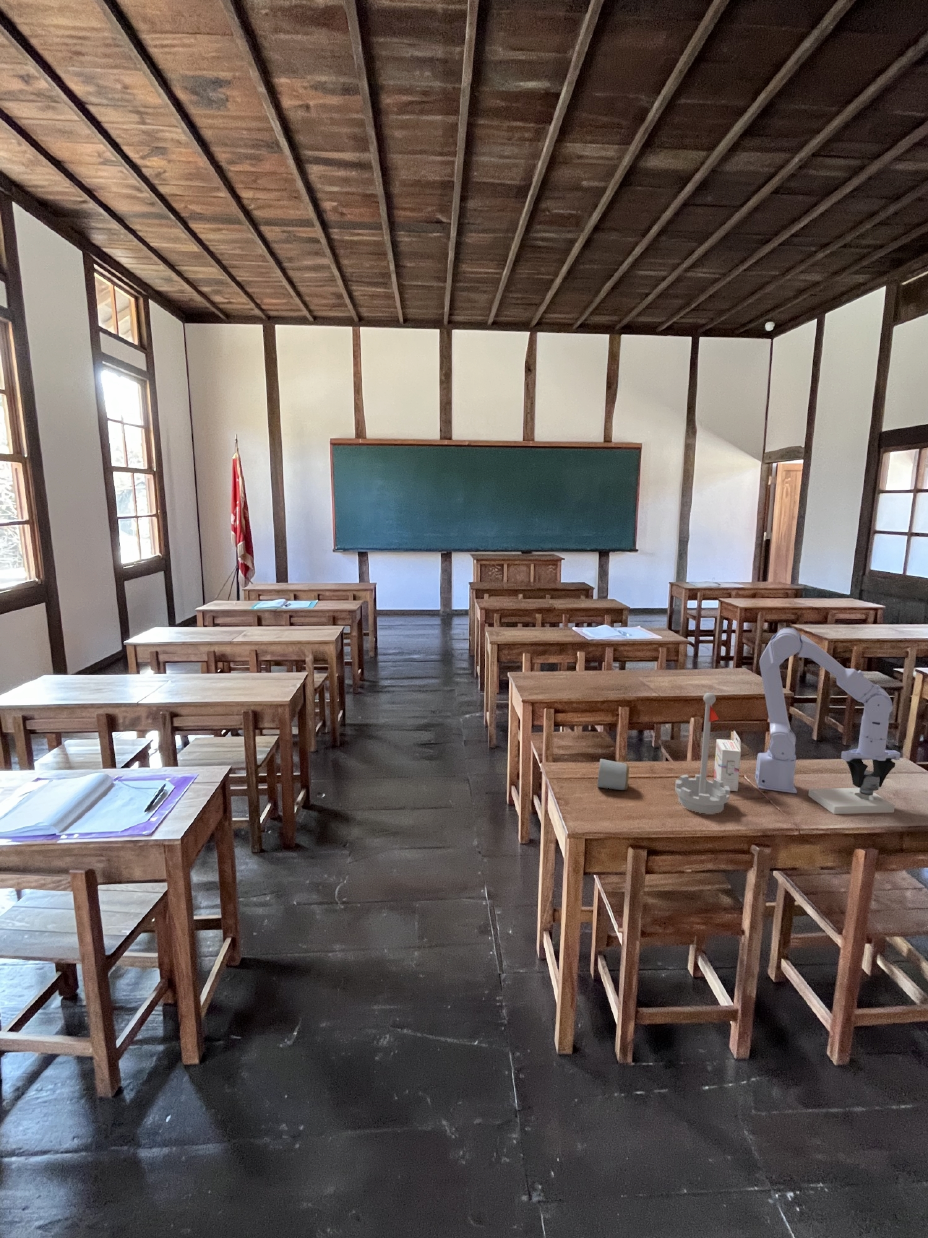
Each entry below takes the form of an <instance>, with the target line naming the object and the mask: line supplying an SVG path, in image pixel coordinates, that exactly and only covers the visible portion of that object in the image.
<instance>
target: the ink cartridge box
mask: <svg viewBox="0 0 928 1238" xmlns="http://www.w3.org/2000/svg"><path fill="white" fill-rule="evenodd" d="M741 754H742V742H741V739H740V737H739V735H738V734H737V732H736V731H735V730H733V740H732V739H723V738H722V739H719V738H718V739H717V738H716V743H715V754H714V755H715V756H714V757H715V758H714V769H713V779H715V778H716V779H718V780H720V781H722V782H723V786H729V788H730V791H731V792H738V791H739V781H740V780H739V777H740V767H741V757H742V756H741Z"/></svg>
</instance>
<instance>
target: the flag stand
mask: <svg viewBox="0 0 928 1238" xmlns="http://www.w3.org/2000/svg"><path fill="white" fill-rule="evenodd" d="M702 699H703V702H704V703H705V708H704V709H705V711H704V721H703V722H704V723H703V735H702V747H701V748H702V749H701V761H700V771H699V772H700V773H699V774H694V775H695V777H694V778H692V777H691V778H690V777H689V775H688V774H683V775H679V779H675V787H674V789H675V793H676V794H677V795H678V803H679V802H680V803H681V805H683V806H684V807H686V808H688V809H689V810H688V809H687V810H688V811H690V810H693V811H696V812H699V813H698V814H701V813H706V814H705V815H714V814H713V813H718V814H720V813H722V812H723V811H724V809H725V804H726V803H727V802H729V800H730V788H729V786H723V782H722V781H720V780H718V779H716V778H715V779H714V778H713V780H708V779H707V773H708V772H707V771H708V762H709V761H708V760H709V750H710V739H711V738H710V736H711V726H712V725H711V724H712V722H713V721H718V720H719V717H718V715H717V713H716V711H714V708H713V704H715V702H716V699H717V698H716V695H715V694H714V693H712V692H706V693H704V695H703V697H702ZM680 803H679V804H680ZM681 805H680V806H681ZM683 806H682V807H683ZM684 807H683V808H684ZM686 808H685V809H686ZM722 810H723V811H722ZM693 811H692V812H693ZM721 811H722V812H721ZM696 812H695V813H696ZM719 812H720V813H719Z"/></svg>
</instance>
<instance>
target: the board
mask: <svg viewBox="0 0 928 1238" xmlns="http://www.w3.org/2000/svg"><path fill="white" fill-rule="evenodd" d="M859 789H860V788H858V787H836V788H833V787H832V788H829V787H828V788H809V790H808V795H807V796H808V797H809V798H811V799H812V800H813V801H814V802H816V803H817V804H819V805H821V806H822V807H823V808H825V810H828V811H829V812H830V813H832V814H834V815H842V814H844V815H846V814H847V815H848V814H849V815H850V814H853V815H854V814H879V813H880V814H885V813H886V814H887V813H890V814H891V813H895V812H894V811H895V807H896V804H894V803H892V802H890V801H889V800H887V799H885V798H884V797H882V796H880V795H879V794H877V793H875V792H874V791H873V795H864V794H862V793H860V792H859Z"/></svg>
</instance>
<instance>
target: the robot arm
mask: <svg viewBox="0 0 928 1238" xmlns="http://www.w3.org/2000/svg"><path fill="white" fill-rule="evenodd" d="M796 654H797V658H806V659H807V658H808V659H811V660H812V661H813V662H815V663H816V664H818V665H819V666H820V667H822V668H823V669H824V670H826V671H827V672H828V673H830V674H831V675H832V676H834V677H835V679H836V686H838V687H839V688H841V689H842V690H843V691H845V693H847V694H848V695H850V697H852V698H853V699H854V700H856V701H857V702H859V703H862V704H863V705H864V707H863V714H862V716H861V723H860V729H859V737H858V738H859V739H858V746H857V748H854V749H850V750H843V751H841V754H840V759H842V760H843V761H845V762H846V764H847V766H848V769H849V771H850V776H851V781H852V785H853V786H855V788H861V786H862V781H863V776H864V773H865V770H868V769H867V768H868V766H869V765H867V764H866V763H864V761H865V760H867V761H868V760H869V761H871V760H872V767H873V769H872V771H873V772H875V773H878V774H879V775H880V782H879V788H881V787H882V786H883V784H884V782H885V779H886V778H887V776H888V774H889V773H890V772H891V771H892V770H893V769H894V768H895V767H896V763H895V761H900V759H901V753H900V752H899V751H897V750H895V749H894V750H893V749H892V750H891V749H886V748H887V747H886V745H887V738H888V731H889V723H890V720H889V719H890V714H891V712H892V711H893V710H894V706H893V702H892V699H891V697H890V695H889V694H888V692H886V690H885V689H883V688H882V687H881V686H880V685H879V684H874V683H873V682H872V681H871V680H869V679H868V678H867V677H865V676H864V675H865V672H863V671H862V670H861V669H859V670H857V669H856V668H846V667H844V666H843V665H842V664H840V662H838V660H836V659H835V658H834V657H832V655H830V654H829V653H827V651H826V650H824V649H823V648H822V647H820V646H819V645H818V644H817V643H816V642H814V641H813V640H812V639H810V638H809V637H808V636H805V635H804V634H800V632H799V631H798V630H797V629H795V628H792V627H783V628H781V629H780V630H778V631H777V632H776V633H774V635H772V636H771V638H770V640H769V642H768V644H767V645H766V647H765V648H764V650H763V652H762V654H761V656H760V659H759V661H758V662H759V668H760V674H761V675H760V676H761V681H762V686H763V691H764V696H765V704H766V709H767V714H768V716H767V717H768V721H769V732H770V741H769V745H768V749H767V750H766V752H759V753H757V758H756V766H755V774H754V775H755V776H754V778H755V782H756V784H757V788H759V789H762V790H770V791H777V792H782V793H791V794H797V793H798V791H797V788H796V786H795V785H794V784H795V783H794V781H795V772H796V763H797V755H796V744H797V738H796V734H795V732H793V730H792V729H791V725H790V721H789V717H788V710H787V705H786V700H785V694H784V688H783V682H782V677H781V675H782V674H781V670H780V665H782V664H783V663H784V661H785V660H786V659H788V658H790V657H792V656H794V655H796ZM893 760H895V761H893Z"/></svg>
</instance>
